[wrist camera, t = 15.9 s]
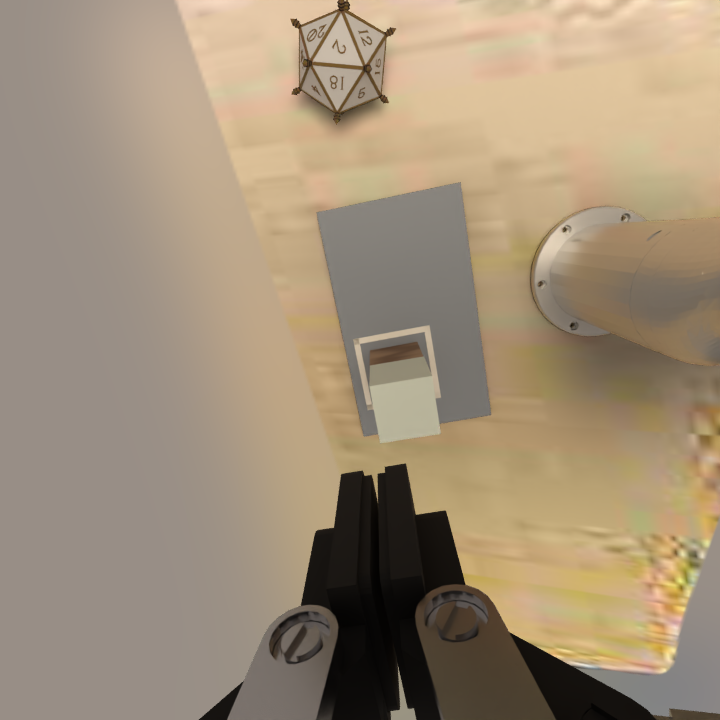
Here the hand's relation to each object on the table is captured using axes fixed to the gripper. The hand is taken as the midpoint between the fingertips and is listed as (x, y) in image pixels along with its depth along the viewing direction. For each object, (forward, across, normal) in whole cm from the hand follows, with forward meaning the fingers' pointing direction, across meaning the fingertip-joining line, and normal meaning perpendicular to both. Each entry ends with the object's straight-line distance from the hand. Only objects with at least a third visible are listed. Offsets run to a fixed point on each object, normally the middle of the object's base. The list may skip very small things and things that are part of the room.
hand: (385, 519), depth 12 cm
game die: (+37, -1, -21) cm, 43 cm away
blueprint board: (+37, -3, +2) cm, 37 cm away
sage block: (+30, -1, +7) cm, 31 cm away
